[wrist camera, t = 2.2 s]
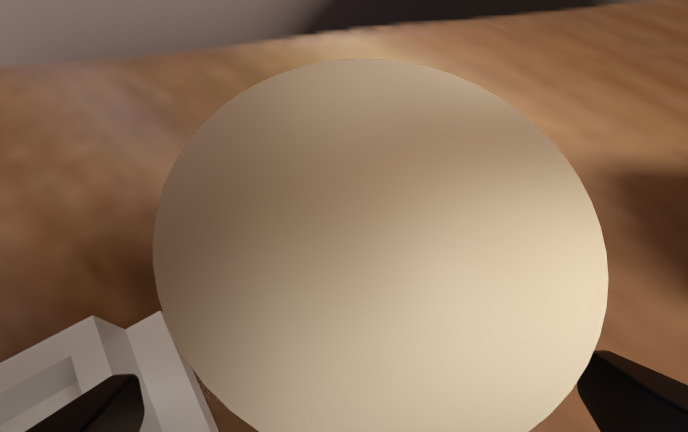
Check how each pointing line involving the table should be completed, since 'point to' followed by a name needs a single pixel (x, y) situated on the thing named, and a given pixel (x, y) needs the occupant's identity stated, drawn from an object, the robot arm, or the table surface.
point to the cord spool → (379, 255)
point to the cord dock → (104, 375)
